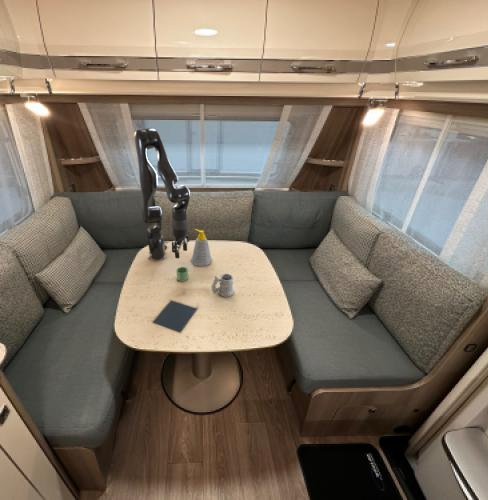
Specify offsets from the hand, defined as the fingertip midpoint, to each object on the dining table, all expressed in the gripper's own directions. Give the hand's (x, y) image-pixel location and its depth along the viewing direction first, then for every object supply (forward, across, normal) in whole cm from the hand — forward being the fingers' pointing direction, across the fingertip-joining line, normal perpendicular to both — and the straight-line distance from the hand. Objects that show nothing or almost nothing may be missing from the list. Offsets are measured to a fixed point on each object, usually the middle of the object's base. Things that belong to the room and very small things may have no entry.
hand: (181, 254), depth 141 cm
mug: (+16, +3, +25) cm, 30 cm away
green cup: (+16, 0, 0) cm, 16 cm away
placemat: (+16, +27, +11) cm, 33 cm away
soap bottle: (+16, -21, +2) cm, 26 cm away
